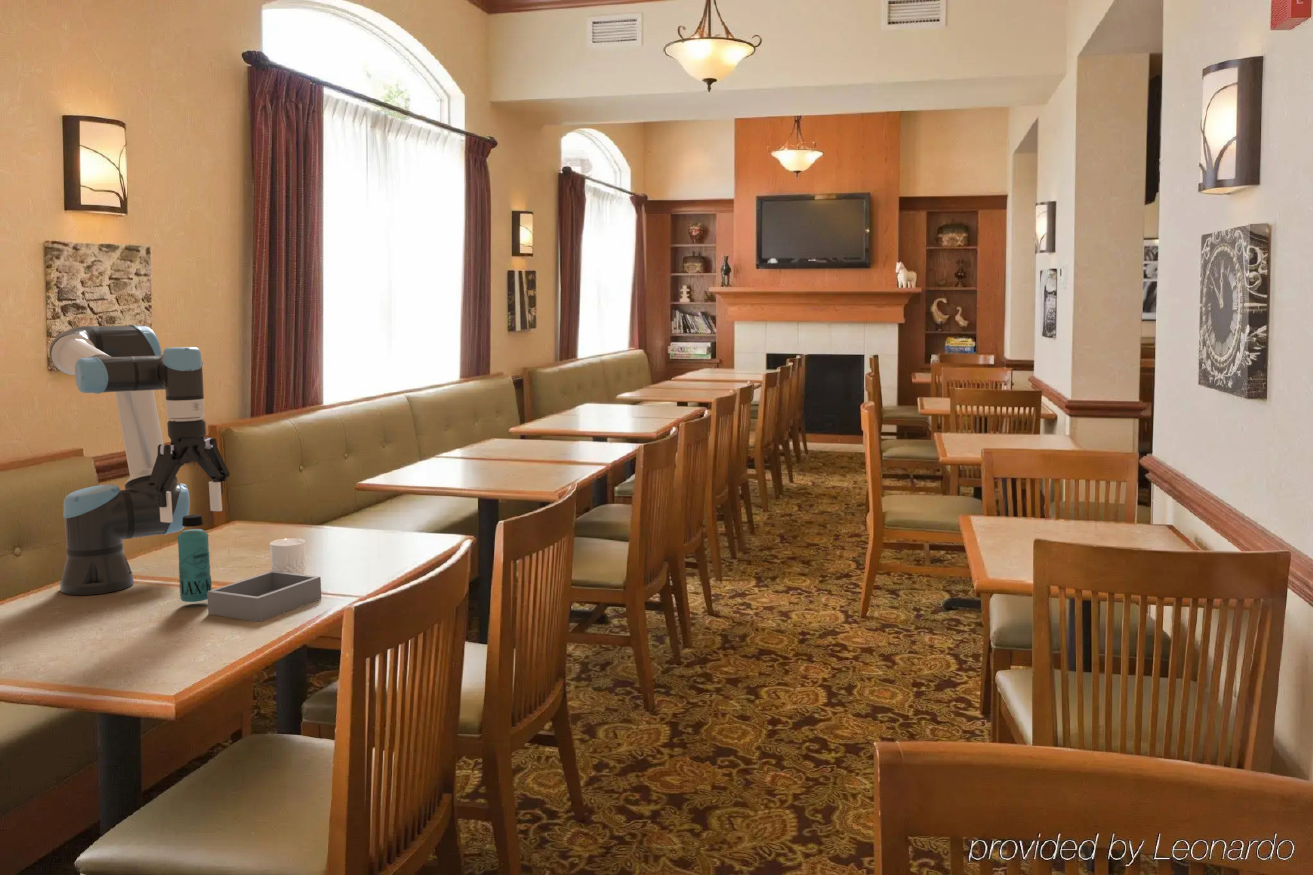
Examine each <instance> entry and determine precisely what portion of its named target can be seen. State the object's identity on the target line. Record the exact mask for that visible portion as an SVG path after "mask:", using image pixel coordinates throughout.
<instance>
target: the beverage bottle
mask: <svg viewBox="0 0 1313 875" xmlns="http://www.w3.org/2000/svg"><path fill="white" fill-rule="evenodd" d="M203 525H204V521H203V516H202V515H201V514H189V515H187V516H184V517H183V522H182V526H185V527H184V528H186V527H187V528H189V527H192V528H193V527H200V526H203ZM177 544H178V545H177V546H178V578H179V580H178V582H179V584H178V586H179V587H178V588H179V591H178V592H179V598H180V600H181V601H182V602H185V603H196V602H198V603H199V602H202V601H208V599H207V591H210V590H213V589H212V588H213V586H212V575H211V563H210V560H211V555H210V554H211V553H210V546H209V545H210V544H209V533H208V532H207V531H205V530H204V529H201V528H193V529H191V528H190V529H186V530H182V531H181V532H180V534H178V536H177Z"/></svg>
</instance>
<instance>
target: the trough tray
mask: <svg viewBox="0 0 1313 875" xmlns="http://www.w3.org/2000/svg"><path fill="white" fill-rule="evenodd" d="M321 579H322V578H321V576H316V575H307V574H304V575H301V574H293V573H285V572H277V571H272V570H271V571H267V572H264V573H261V574H257V575H254V576H251V577H248V578H245V579H243V580H239V581H236V582H232V583H229V584H226V585H222V586H220V587H217V588H214V589H211V590H210V591H207V612H208V613H207V614H208V615H212V616H219V617H224V618H229V619H230V618H231V619H238V620H244V621H251V622H263V621H266V620H268V619H271V618H273V617H275V616H278V615H281V614H285V613H287V612H290V611H292V610H294V609H297V608H299V607H302V606H305V605H308V604H311V603H313V602H317V601H319V600H321V599H322V583H321V582H322V580H321Z"/></svg>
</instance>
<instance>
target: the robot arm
mask: <svg viewBox="0 0 1313 875" xmlns="http://www.w3.org/2000/svg"><path fill="white" fill-rule="evenodd" d="M160 344H161V343H160V341H159V338H158V336H157V334H156V333H155V332H154V331H153V329H151V327H149V326H145V325H136V324H135V325H134V324H127V325H82V326H76V327H73V328H69V329H67V330H66V331H65V330H64V331H63V332H61V333H59V335H57V336H56V337H55V338H54V339H53V340H52V342H51V343H50V345H49V350H48V354H49V359H50V361H51V363H52V365H53V366H54V367H55V368H56V369H57V370H58V371H60V372H62V373H63V374H67V375H71V376H73V375H74V378H75V384H76V387H77V390H78V391H79V392H80V393H82V394H83V393H84V394H101V393H102V394H103V393H114V395H115V400H116V406H117V411H118V418H119V422H120V428H121V434H122V435H121V436H122V440H123V443H124V444H123V445H124V450H125V456H126V462H127V466H128V472H129V478H128V479H127V480H126V481H125V483H124V489H122V490H121V488H120V487H119V485H117V484H110V483H109V484H104V485H103V484H100V485H94V486H88V487H84V488H80V489H78V490H77V489H76V490H75V491H73V492H70V493H68V494H67V495H66V496H65V498H64V499H63V513H62V518H64V531H65V532H64V534H65V535H64V536H65V546H66V549H65V550H66V559H65V563H64V567H63V570H62V571H63V572H62V577H61V579H60V583H59V586H60V592H61V593H62V594H65V595H69V596H70V595H71V596H90V595H100V594H106V593H107V594H108V593H112V592H117V591H121V590H124V589H127V588H130V587H132V586H133V585H134V574H133V571H132V570H131V567H130V564H129V562H128V560H127V556H126V555H125V551H124V540H128V539H129V540H130V539H136V538H145V537H152V536H154V537H155V536H161V535H163V536H166V535H168V534H174V533H178V532H182V531H184V530H183V529H184V528H186V527H185V526H182V522H183V517H184V516H187V515H190V509H191V508H190V505H191V504H190V502H191V501H190V500H191V499H190V491H189V489H188V485H186V484H185V483H182V482H181V483H179V482H178V477H177V474H178V472H179V470H180V469H181V467H182V466H184V464H189V463H191V462H197V464H198V465H199V466H200V468H202V470H203V471H204V472H205V473H206V475H207V477H209V478H210V480H212V481H208V488H209V490H208V491H209V508H210V510H209V511H210V512H223V501H222V496H223V493H224V490H223V489H224V486H223V485H224V484H223V482H226V481H227V478H229V477H230V474H231V473H230V471H229V469H228V467H227V465H226V463H225V461H224V459H223V457H222V454H221V452H220V450H219V448H218V443H217V439H216V438H215V437H205V436H206V435H207V427H206V420H205V419H204V418H203V417H205V416H206V410H205V397H204V396H205V394H204V393H205V392H204V377H203V376H204V375H203V366H204V361H203V358H202V352H201V349H200V348H199V347H197V346H181V347H180V346H178V347H177V346H173V347H166V348H164V349H163V352H162V347H161V345H160ZM159 390H160V391H161V390H165V392H164V393H165V408H166V418H167V419H169V420H168V421H167V422H166V423H167V424H166V425H167V426H166V427H167V437H168V438H169V439H170V444H164V438H163V434H162V428H161V422H160V417H159V414H158V407H157V402H156V397H155V391H159ZM204 437H205V438H204Z"/></svg>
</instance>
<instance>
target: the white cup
mask: <svg viewBox="0 0 1313 875" xmlns="http://www.w3.org/2000/svg"><path fill="white" fill-rule="evenodd" d="M269 551H270V562H271V571H277V572H285V573H293V574H301V575H305V569H306V568H305V567H306V566H305V563H306V540H305V539H302V538H282V539H276V540H273V541H270V542H269Z"/></svg>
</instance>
